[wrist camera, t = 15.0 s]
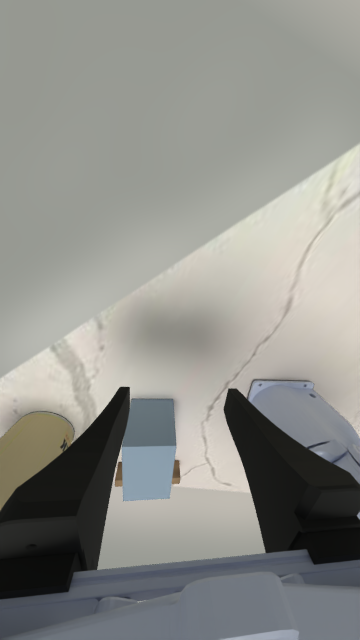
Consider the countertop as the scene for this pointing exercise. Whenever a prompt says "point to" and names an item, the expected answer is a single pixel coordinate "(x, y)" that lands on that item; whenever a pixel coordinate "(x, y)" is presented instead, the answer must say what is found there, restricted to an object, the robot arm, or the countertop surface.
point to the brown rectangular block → (174, 478)
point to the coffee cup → (31, 448)
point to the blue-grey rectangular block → (149, 450)
